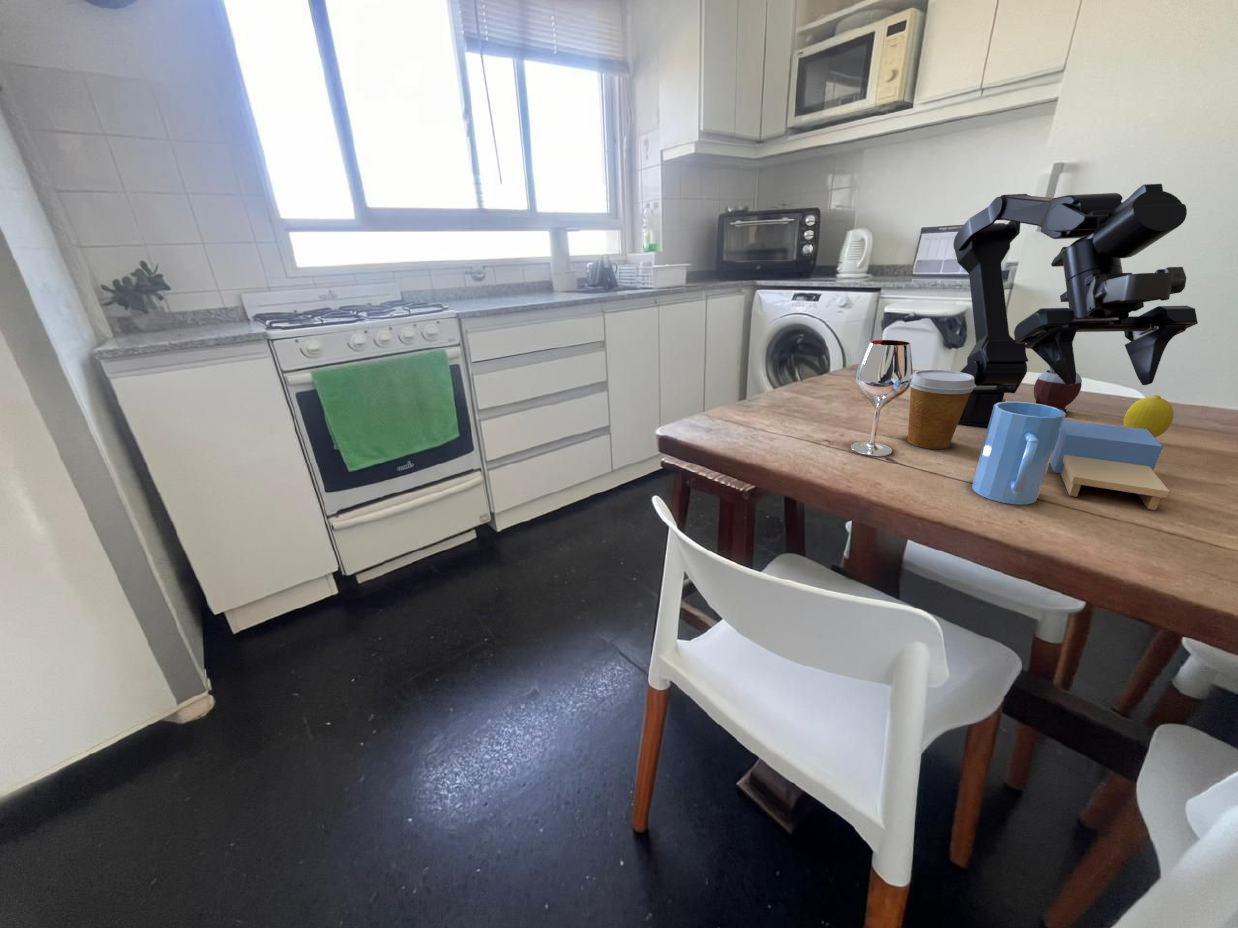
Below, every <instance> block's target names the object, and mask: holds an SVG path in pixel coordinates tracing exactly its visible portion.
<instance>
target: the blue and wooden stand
mask: <svg viewBox="0 0 1238 928" xmlns="http://www.w3.org/2000/svg"><path fill="white" fill-rule="evenodd" d="M1163 448H1164V445H1162V443H1160V441H1159V440H1158V439H1157V437H1154V436H1153V435H1152V434H1151V433H1150V432H1149V431H1148V430H1147V429H1140V428H1131V427H1124V426H1122V425H1121V426H1120V425H1111V424H1102V423H1094V422H1093V423H1092V422H1084V421H1075V420H1066V419H1064V421H1063V424H1062V427H1061V430H1060V433H1059V436H1058V439H1057V442H1056V445H1055V448H1054V451H1053V454H1052V457H1051V460H1050V463H1049V465H1050V466H1051V470H1052V472H1053V473H1056V474H1060V476H1061V478H1062V481H1063V483H1064V486H1065V488H1066V491H1067V493H1068V496H1070V497H1075V498H1077V497H1078V495H1079V492H1080V489H1081V487H1082V486H1087V487H1093V488H1099V489H1106V490H1110V491H1111V490H1112V491H1118V492H1123V493H1124V492H1125V493H1130V494H1131V493H1132V494H1136V495H1137V496H1138V497H1139V499H1140V500H1141V502H1142V503H1143V504H1144V506H1145V507H1146V509H1147V510H1152V511H1156V510H1157V509H1158V507H1159V504H1160V503H1161V499H1162V498H1163V499H1167V498H1168V496H1169V494H1170V490H1169V489H1168V487H1167V486H1166V485H1165V484H1164V483H1163V481H1162V480H1161V479H1160V477H1159V476H1158V475H1157V474H1156V472H1155V471H1154V469H1155V467H1156V464H1157V462H1158V460H1159V458H1160V455H1161V453H1162V451H1163Z"/></svg>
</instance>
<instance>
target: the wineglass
mask: <svg viewBox="0 0 1238 928" xmlns="http://www.w3.org/2000/svg"><path fill="white" fill-rule="evenodd" d="M913 365H914V364H913V355H912V346H911V342H910V341H905V340H898V339H877V340H876V339H875V340H874V339H873V340H870V341H869V342H868V344H867V346H866V348H865V350H864V353H863V355H862V357H861V359H860V361H859V364H858V367H857V369H856V373H855V377H854V379H855V384H856V387H857V389H858V390H859V392H860V393H861V394H862V395H863V396H864V397H865V398H866V399H867V400H868V401H869V403H871V405H872V406H873V408H874V411H873V412H874V414H873V419H872V425H871V431H870V435H869V439H868V441H856V442H853V443H851V444H850V450H851V451H853V452H855V453H857V454H860V455H864V456H868V457H869V456H870V457H886V456H889V455H891V454H892V452H893V449H892V448H891V447H890V446H888V445H886V444H883V443H880V442H876V438H877V430H878V425H879V419H880V414H881V410H882V409H883V408H884V407H885V406H886V405H888V404H889V403H891V402H892V401H895V400H896V399H898V398H899V397H901V396H902V395H903V394H905V393H906V392H907V391H908V390H909V389H910V388H911V386H910V385H911V383H912V379H913V373H914V367H913Z"/></svg>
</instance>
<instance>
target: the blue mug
mask: <svg viewBox="0 0 1238 928" xmlns="http://www.w3.org/2000/svg"><path fill="white" fill-rule="evenodd" d="M1066 415H1067V413H1066V412H1064V411H1062V410H1060V409H1057V408H1055V407H1051V406H1046V405H1042V404H1036V402H1028V401H1027V402H1026V401H1006V402H1000V403H996V404H995V405H994V406H993V410H992V414H991V417H990V421H989V425H988V427H986V431H985V432H986V433H985V436H984V439H983V444H982V447H981V450H980V454H979V458H978V462H977V465H976V469H975V473H974V476H973V480H972V485H971V488H972V490H973V491H974V492H975V493H976V494H978V495H979V496H981V497H983V498H985V499H989V500H991V501H994V502H999V503H1003V504H1008V505H1017V506H1019V505H1020V506H1024V505H1031V504H1034V503H1036V502H1037V500H1038V498H1039V496H1040V493H1041V490H1042V487H1043V484H1044V481H1045V478H1046V475H1047V472H1048V469H1049V466H1050V460H1051V457H1052V454H1053V451H1054V448H1055V445H1056V442H1057V439H1058V436H1059V433H1060V430H1061V427H1062V424H1063V421H1064V420H1065V418H1066Z"/></svg>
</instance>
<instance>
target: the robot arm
mask: <svg viewBox="0 0 1238 928" xmlns="http://www.w3.org/2000/svg"><path fill="white" fill-rule="evenodd" d="M1123 200H1124V197H1123V196H1122V195H1121V193H1117V192H1107V193H1085V194H1084V193H1083V194H1066V195H1063V196H1061V195H1060V196H1057V197H1048V196H1036V195H1030V194H1028V193H1012V194H1001V195H1000V196H996V197H995V198H994V199H993V200H992V201H991V203H990V204H989V205H988V206H987V207H986V208H984V209H982V210H981V211H979V212H977V213H976V214H974V215H973V216H971V217H969V218H968V219H967V220H966V221H965V222H964V224H963V225H962V227H960V229H959V231H958V232H957V233H956V235H955V236H954V239H953V249H954V252H955V253H954V254H955V257H956V261H957V264H958V265H959V266H960V267H962V268H963V270H964V271H966V272H967V274H968V277H969V287H970V297H971V306H972V316H973V325H974V334H975V335H974V336H975V344H974V346H973V348H972V349H971V351H970V352H969V354H968V356H967V358H966V365H965V366H964V367H963V368H962V369H961V370H960V371H959V372H962V373H966V374H970V375H972V376H974V384H975V385H976V387H975V388H974V389H973V391H972V392H971V393H970V395H969V398H968V400H967V403H966V405H965V408H964V410H963V413H962V415H961V418H960V420H959V422H958V425H967V426H976V427H983V428H988V425H989V421H990V417H991V414H992V410H993V406H994V405H995V404H996V403H1000V402H1007V400H1006V399H1005V398H1004V397H1005V394H1016V393H1017V391H1018V389H1019V387H1020V385H1021V384H1022V382H1023V380H1024V378H1025V377H1026V375H1027V373H1028V364H1027V363H1028V362H1029V358H1028V356H1027V352H1026V349H1027V350H1032V351H1033V352H1034V353H1035V354H1037V355H1038V356H1039V357H1040V358H1041V360H1043V361H1044V362H1045V363H1046V364H1047V365H1048V367H1049V366H1050V367H1051V368H1052V369H1053V370H1054V371H1055V372H1056V374H1057V375H1058V376H1059V377H1060V378H1061V379H1062V380H1063V382H1064V383H1065V384H1066V385H1068V386H1070V385H1073V384H1075V383H1076V373H1077V367H1076V361H1075V354H1074V353H1075V351H1074V346H1073V344H1074V339H1075V337H1076V334H1077V333H1098V332H1099V333H1100V332H1101V333H1104V332H1105V333H1106V332H1109V333H1111V332H1124V338H1126V339H1127V340H1128V341H1129V342H1127V343H1125V344H1124V347H1125V350H1126V353H1127V355H1128V357H1129V361H1130V362H1131V365H1132V367H1133V370H1134V372H1135V374H1136V377H1137V379H1138V380H1139V382H1140V384H1141V385H1142V386H1148V385H1151V384H1153V382H1154V380H1155V378H1156V374H1157V371H1158V369H1159V365H1160V363H1161V360H1162V358H1163V357H1162V356H1163V354H1164V352H1165V350H1166V347H1167V346H1168V344H1169V342H1170V341H1172V339H1173V338H1174V337H1176V336H1177V335H1180V334H1181V333H1184V332H1186V331H1187V329H1189V328H1191V327H1193V326H1197V325H1198V324H1199V322H1198V317H1197V312H1196V308H1195V307H1192V306H1190V305H1157V306H1156V307H1153V308H1152V309H1150V310H1147V311H1146V312H1143V313H1142V314H1140V315H1137V316H1132V315H1131V316H1130V313H1132V312H1137V311H1139V310H1141V309H1143V308H1145V304H1144V303H1148V302H1153V301H1159V300H1160V301H1161V302H1162V301H1167V300H1170V298H1171V295H1175V294H1180V293H1182V292H1183V291H1184V290H1185V289H1186V285H1187V284H1186V283H1187V275H1186V272H1185V269H1184V267H1183V266H1168V267H1167V266H1166V267H1165V268H1159V269H1156V270H1155V271H1154V272H1140V273H1139V272H1138V273H1133V272H1123V266H1122V259H1127V258H1128V259H1129V258H1131V257H1134V256H1136V255H1137V254H1139V253H1141V252H1142V251H1144V250H1145V249H1147V248H1148V247H1150V246H1151V245H1153V244H1155V243H1156V242H1157V241H1159V240H1161V239H1162V238H1163V237H1165V236H1167V235H1168V234H1169V233H1171V232H1173V231H1175V230H1176V229H1177V228H1179V227H1181V225H1183V224H1184V221H1185V220H1186V218H1187V215H1188V211H1187V210H1188V208H1187V205H1186V204H1185V203H1183V202H1182V201H1181V200H1180V199H1179V198H1178V197H1177V196H1175V195H1174V194H1172V193H1171V192H1168V191H1165V190H1164V187H1163V184H1162V183H1146V184H1142V185H1140V187H1138V188H1137V189H1136V190H1135V191H1133V192H1132V194H1131V195H1130V196H1129V197H1127V199H1125V200H1124V201H1123ZM1122 201H1123V202H1122ZM996 221H1008V223H1005V222H996ZM1021 224H1024V225H1025V224H1026V225H1032V226H1038V227H1039V228H1040V233H1042V234H1043V235H1045V236H1047V237H1049V238H1051V239H1052V240H1068V239H1069V240H1070V239H1071V240H1073V239H1076V240H1075V241H1074V242H1072V243H1071V244H1070V245H1067V246H1062V247H1061V249H1060V251H1059V253H1058V254H1057V255H1056V256H1055V257H1054V258H1053V260H1052V262H1051V263H1050V266H1051V267H1053V268H1054V267H1055V268H1057V267H1058V268H1059V267H1063V272H1064V281H1065V288H1066V291H1064V292H1063V293H1062V294H1060V295H1059V299H1060V303H1067V304H1068V307H1046V308H1045V307H1044V308H1039V309H1037V310H1036V311H1035V312H1032V313H1031V314H1030V315H1029V316H1027V317H1026V318H1024V319H1023V320H1021V321H1020V322H1018V323H1017V324H1016V326H1015V327H1014V330H1013V336H1014V338H1013V337H1012V336H1011V335H1010V329H1009V328H1010V327H1009V321H1008V319H1009V318H1008V311H1007V303H1006V294H1005V285H1004V276H1003V270H1002V262H1003V261H1004V259H1005V257H1006V256H1007V254H1008V253H1009V251H1010V249H1011V243H1012V242H1013V241H1014V240H1015V239H1016V238H1017V237H1018V236H1019V235H1020V232H1021Z"/></svg>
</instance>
